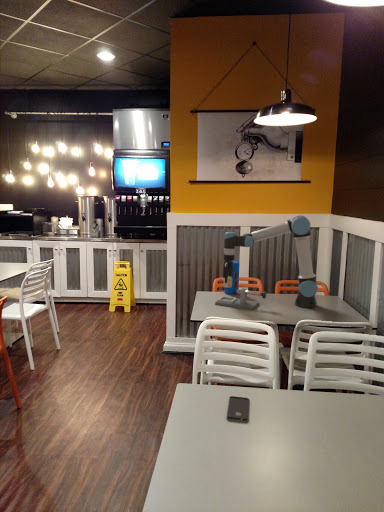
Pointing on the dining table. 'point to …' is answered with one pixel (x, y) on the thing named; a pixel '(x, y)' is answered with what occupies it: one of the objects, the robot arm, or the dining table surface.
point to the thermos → (233, 280)
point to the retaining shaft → (254, 293)
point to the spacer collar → (229, 283)
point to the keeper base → (237, 301)
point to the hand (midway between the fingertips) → (227, 286)
